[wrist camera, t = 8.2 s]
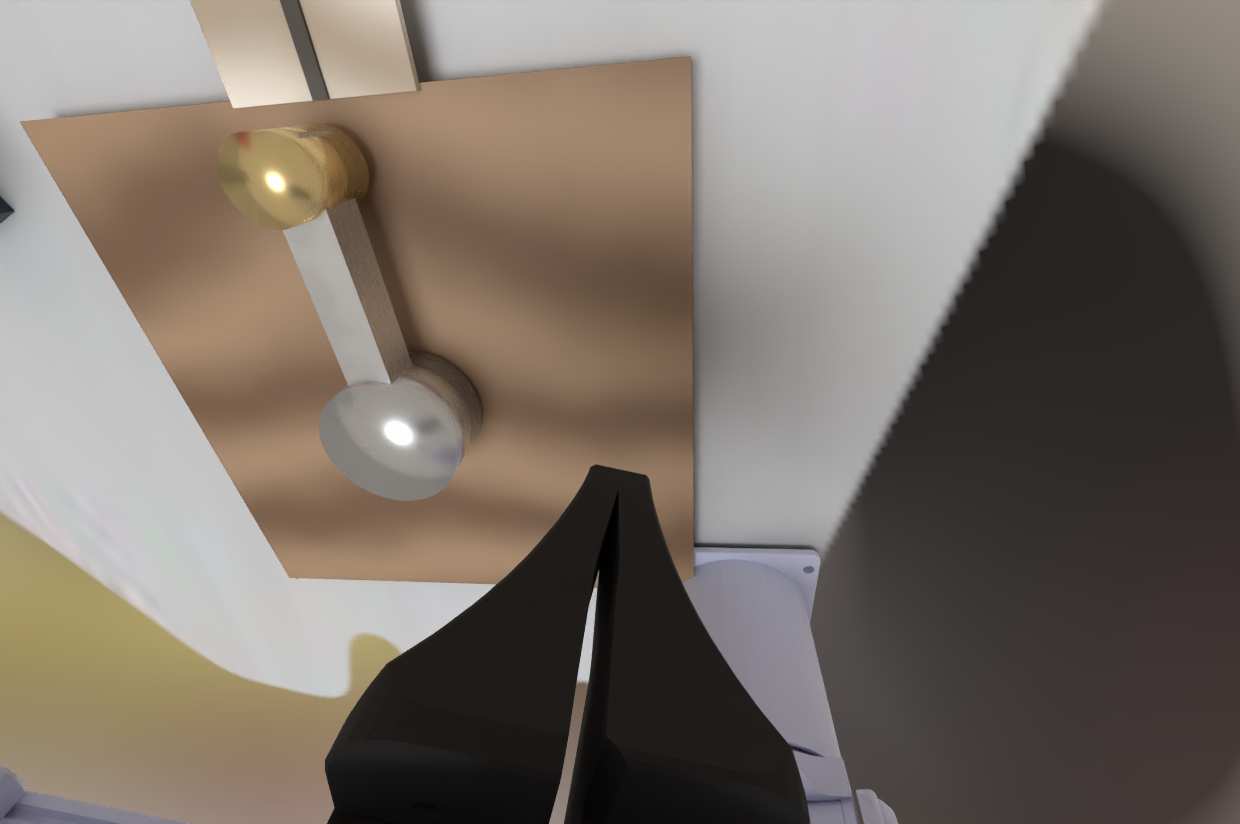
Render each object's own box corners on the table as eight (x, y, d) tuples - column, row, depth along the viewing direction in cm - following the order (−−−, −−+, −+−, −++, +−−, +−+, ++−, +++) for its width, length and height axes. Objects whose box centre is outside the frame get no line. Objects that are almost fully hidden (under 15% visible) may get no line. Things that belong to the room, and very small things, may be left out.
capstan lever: (494, 453, 22) (464, 510, 19) (386, 455, 23) (340, 511, 20) (398, 114, 16) (331, 120, 13) (252, 131, 17) (154, 142, 14)
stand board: (693, 571, 27) (694, 597, 26) (302, 560, 30) (284, 584, 28) (690, -68, 14) (690, -84, 13) (1, 20, 17) (-60, 14, 16)
